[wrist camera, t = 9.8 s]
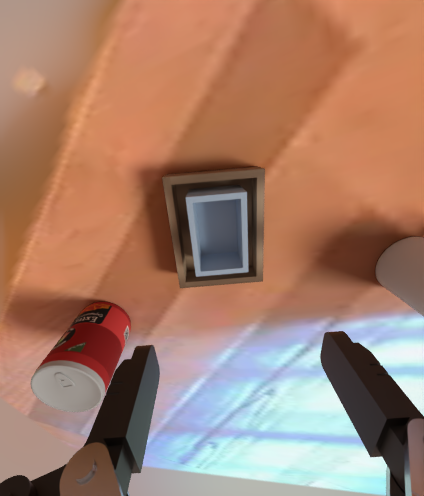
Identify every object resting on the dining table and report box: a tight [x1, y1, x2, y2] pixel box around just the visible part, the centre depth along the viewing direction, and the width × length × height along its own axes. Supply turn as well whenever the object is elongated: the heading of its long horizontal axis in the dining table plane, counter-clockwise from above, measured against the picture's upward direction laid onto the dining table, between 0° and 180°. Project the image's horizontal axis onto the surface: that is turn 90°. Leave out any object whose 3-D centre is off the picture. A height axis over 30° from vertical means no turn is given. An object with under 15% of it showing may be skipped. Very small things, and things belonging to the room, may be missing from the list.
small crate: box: [186, 185, 248, 277], centre depth 26 cm, size 9×6×5 cm, turn 5°
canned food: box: [31, 302, 131, 412], centre depth 29 cm, size 8×8×11 cm
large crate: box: [162, 167, 265, 288], centre depth 27 cm, size 14×11×4 cm
